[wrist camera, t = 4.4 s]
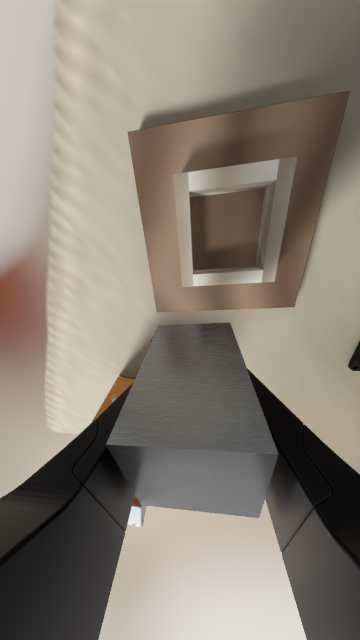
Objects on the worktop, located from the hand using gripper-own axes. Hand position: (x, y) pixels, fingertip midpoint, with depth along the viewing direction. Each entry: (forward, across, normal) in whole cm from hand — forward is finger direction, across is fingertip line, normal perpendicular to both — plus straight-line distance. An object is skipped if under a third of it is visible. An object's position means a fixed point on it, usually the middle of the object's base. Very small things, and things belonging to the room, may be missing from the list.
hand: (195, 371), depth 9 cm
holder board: (+11, -3, -6) cm, 13 cm away
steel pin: (+2, 0, 0) cm, 2 cm away
